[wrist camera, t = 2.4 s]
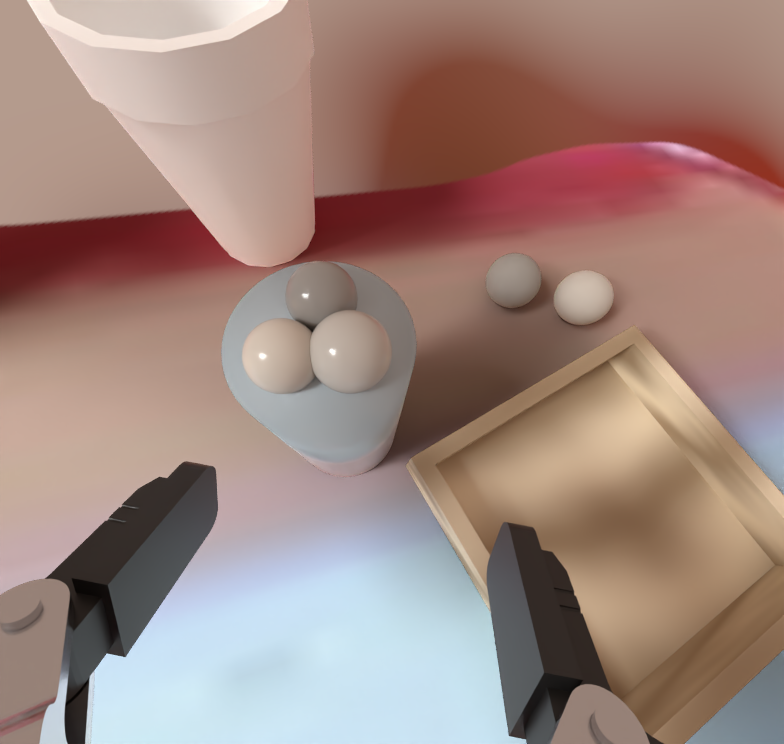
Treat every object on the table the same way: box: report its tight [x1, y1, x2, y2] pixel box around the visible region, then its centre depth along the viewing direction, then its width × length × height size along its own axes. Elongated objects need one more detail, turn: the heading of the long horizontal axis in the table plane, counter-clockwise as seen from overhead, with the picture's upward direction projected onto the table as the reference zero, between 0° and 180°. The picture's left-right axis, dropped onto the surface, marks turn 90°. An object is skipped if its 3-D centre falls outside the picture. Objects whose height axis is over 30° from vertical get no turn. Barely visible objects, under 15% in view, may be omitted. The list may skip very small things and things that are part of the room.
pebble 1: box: [486, 253, 541, 308], centre depth 23 cm, size 3×3×3 cm
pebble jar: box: [221, 261, 417, 477], centre depth 15 cm, size 5×5×13 cm
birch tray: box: [406, 325, 784, 744], centre depth 18 cm, size 14×14×3 cm
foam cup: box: [27, 0, 315, 267], centre depth 19 cm, size 10×9×13 cm
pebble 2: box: [554, 270, 614, 325], centre depth 23 cm, size 3×3×3 cm
